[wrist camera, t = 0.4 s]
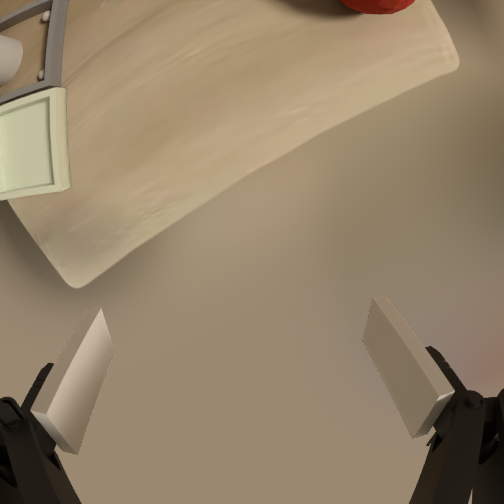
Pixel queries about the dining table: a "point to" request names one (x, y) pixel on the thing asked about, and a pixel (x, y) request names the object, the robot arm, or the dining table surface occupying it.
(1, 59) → the cup
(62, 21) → the gravel bin
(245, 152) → the dining table surface
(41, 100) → the sage tray
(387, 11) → the apple
